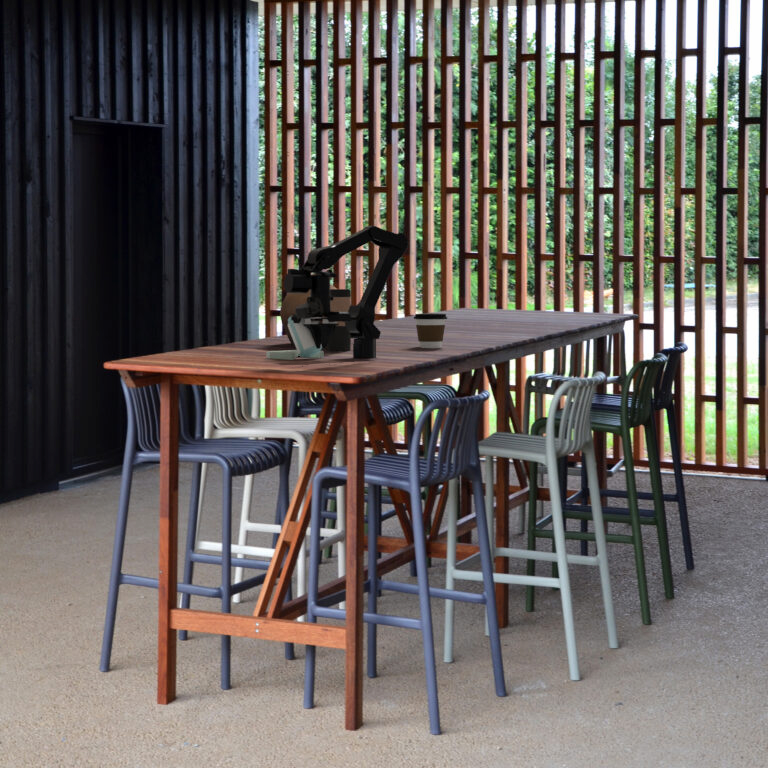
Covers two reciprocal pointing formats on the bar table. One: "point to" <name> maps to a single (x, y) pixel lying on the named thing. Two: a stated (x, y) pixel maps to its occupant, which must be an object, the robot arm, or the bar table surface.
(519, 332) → the bar table surface
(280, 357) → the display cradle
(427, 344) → the coffee cup
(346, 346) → the travel mug
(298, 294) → the pottery
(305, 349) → the can
